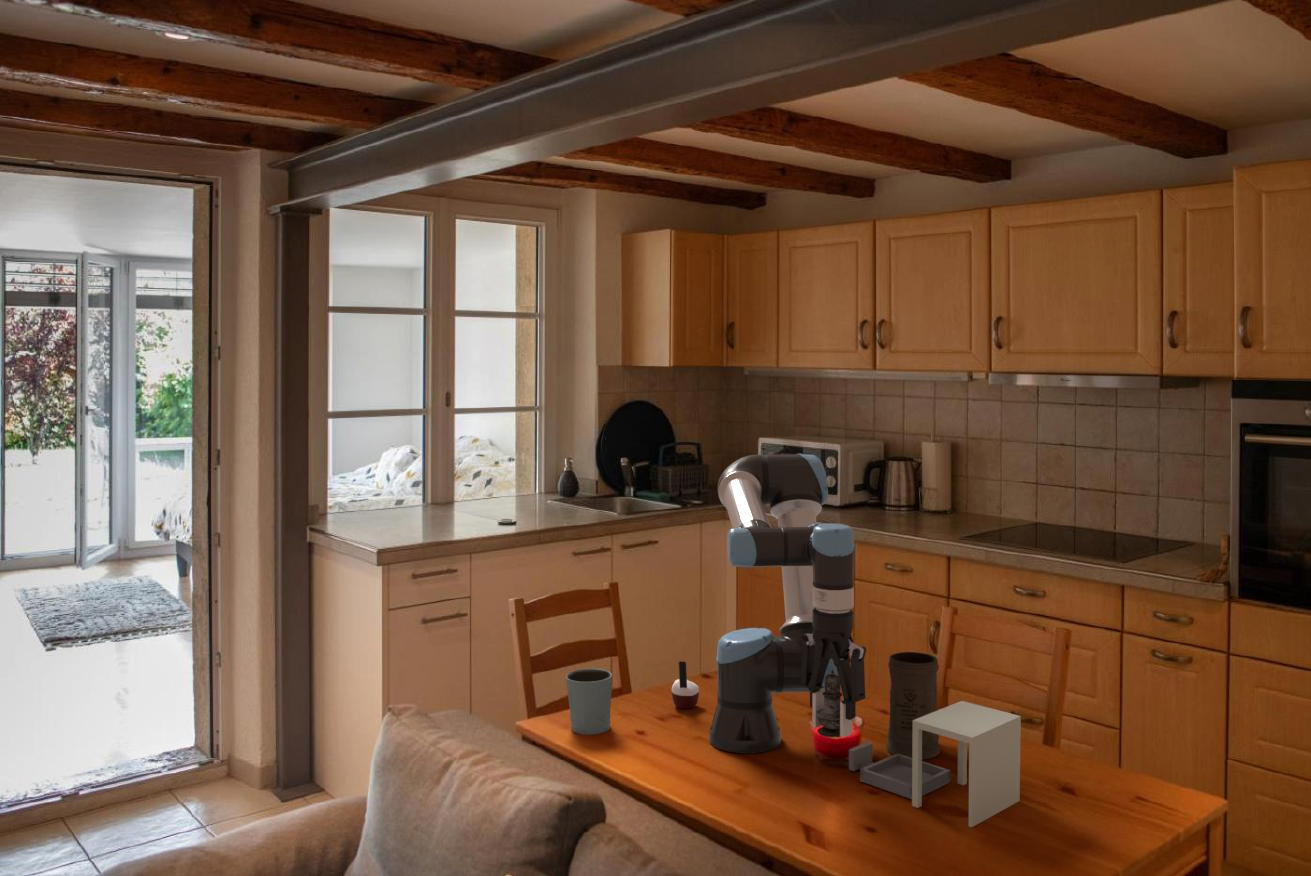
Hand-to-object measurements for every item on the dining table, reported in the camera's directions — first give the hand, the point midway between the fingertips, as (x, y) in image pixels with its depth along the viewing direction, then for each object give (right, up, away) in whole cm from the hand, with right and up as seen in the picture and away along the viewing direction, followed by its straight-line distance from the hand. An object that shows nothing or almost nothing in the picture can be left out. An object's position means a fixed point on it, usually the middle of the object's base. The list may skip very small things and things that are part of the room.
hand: (832, 729), depth 194 cm
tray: (+13, -11, +5) cm, 18 cm away
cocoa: (-26, -9, +49) cm, 56 cm away
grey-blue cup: (-47, -10, +35) cm, 60 cm away
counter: (+23, -12, -6) cm, 27 cm away
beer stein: (+21, -10, +22) cm, 32 cm away
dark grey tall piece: (0, -1, 0) cm, 1 cm away
